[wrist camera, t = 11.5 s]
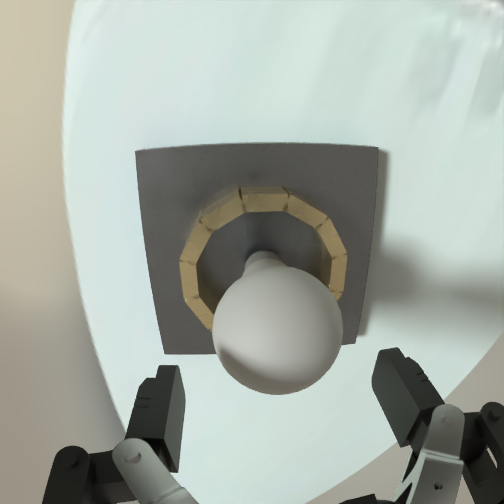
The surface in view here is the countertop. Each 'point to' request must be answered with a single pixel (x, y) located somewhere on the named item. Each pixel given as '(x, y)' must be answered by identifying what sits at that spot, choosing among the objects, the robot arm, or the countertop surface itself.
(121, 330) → the countertop surface
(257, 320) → the lightbulb
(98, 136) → the countertop surface
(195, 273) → the lamp socket
